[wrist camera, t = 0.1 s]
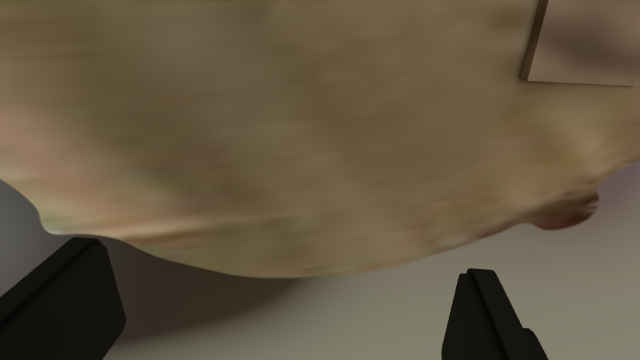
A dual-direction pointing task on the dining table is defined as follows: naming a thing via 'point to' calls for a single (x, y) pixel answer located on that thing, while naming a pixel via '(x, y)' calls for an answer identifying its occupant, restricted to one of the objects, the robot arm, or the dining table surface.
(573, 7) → the base
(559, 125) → the dining table surface
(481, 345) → the robot arm
